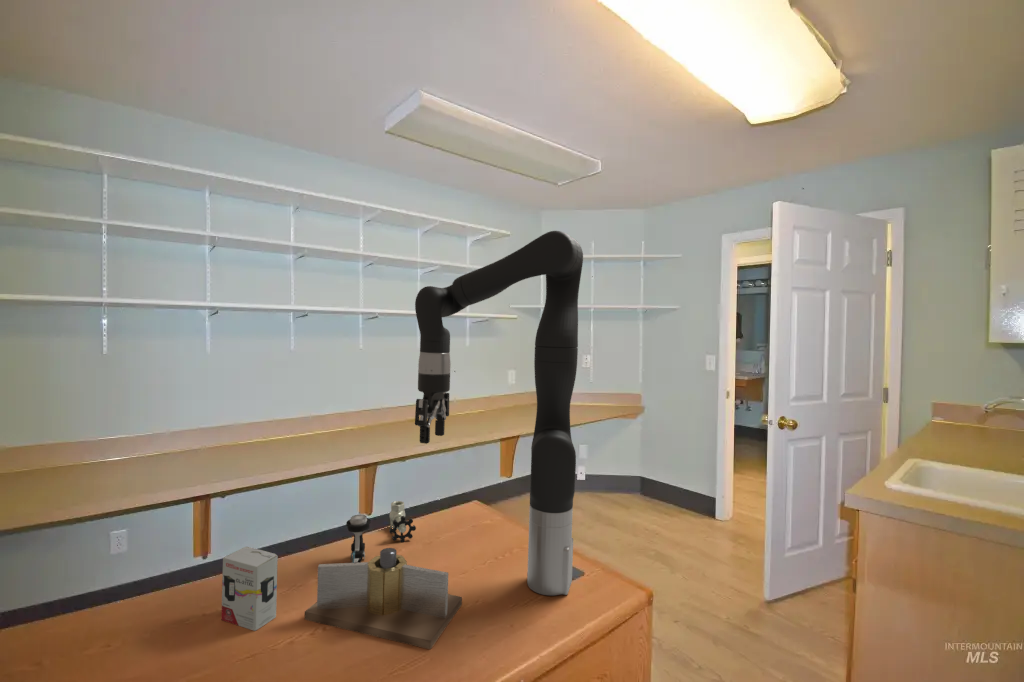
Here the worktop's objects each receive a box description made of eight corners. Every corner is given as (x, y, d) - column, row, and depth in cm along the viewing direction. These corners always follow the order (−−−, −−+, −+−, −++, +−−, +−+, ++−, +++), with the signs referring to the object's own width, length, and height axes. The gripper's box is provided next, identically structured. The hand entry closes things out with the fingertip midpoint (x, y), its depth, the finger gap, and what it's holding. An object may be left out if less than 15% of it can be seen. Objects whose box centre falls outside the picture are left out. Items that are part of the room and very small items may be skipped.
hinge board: (461, 604, 94) (462, 596, 94) (430, 649, 81) (430, 640, 81) (350, 581, 102) (350, 574, 101) (304, 619, 88) (304, 611, 88)
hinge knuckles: (453, 606, 91) (454, 565, 91) (432, 635, 82) (433, 590, 82) (345, 584, 98) (346, 545, 98) (315, 608, 89) (316, 566, 89)
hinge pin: (398, 600, 93) (399, 549, 92) (390, 608, 90) (391, 556, 89) (384, 597, 93) (385, 546, 93) (376, 605, 90) (377, 553, 90)
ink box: (219, 620, 87) (220, 556, 87) (243, 606, 92) (244, 545, 91) (255, 632, 84) (256, 566, 84) (277, 616, 89) (278, 554, 88)
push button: (367, 567, 107) (368, 524, 107) (342, 569, 106) (343, 525, 106) (370, 554, 114) (371, 512, 114) (347, 555, 113) (348, 513, 113)
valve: (383, 525, 131) (389, 544, 119) (384, 501, 130) (389, 518, 119) (408, 522, 133) (415, 541, 122) (408, 499, 133) (416, 515, 122)
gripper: (436, 374, 106) (434, 447, 106) (460, 369, 119) (458, 434, 120) (405, 372, 108) (403, 444, 108) (432, 368, 121) (430, 431, 122)
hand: (432, 439), depth 114 cm, fingers open, 8 cm apart
